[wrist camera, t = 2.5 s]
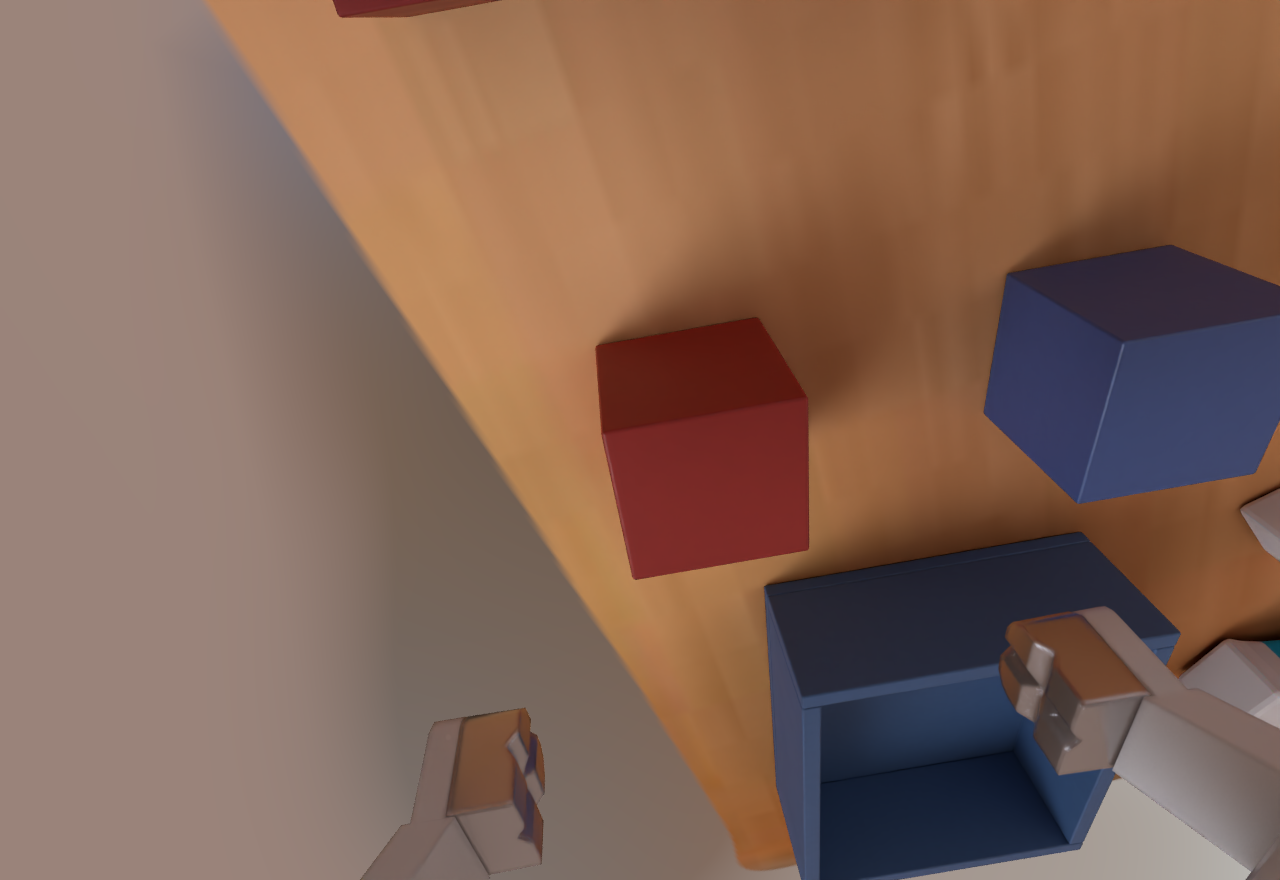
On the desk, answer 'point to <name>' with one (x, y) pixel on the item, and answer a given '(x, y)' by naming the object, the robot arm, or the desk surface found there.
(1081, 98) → the desk surface
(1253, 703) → the magnet
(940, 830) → the blue bin
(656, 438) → the red block
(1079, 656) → the robot arm
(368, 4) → the red bin
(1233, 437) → the blue block
